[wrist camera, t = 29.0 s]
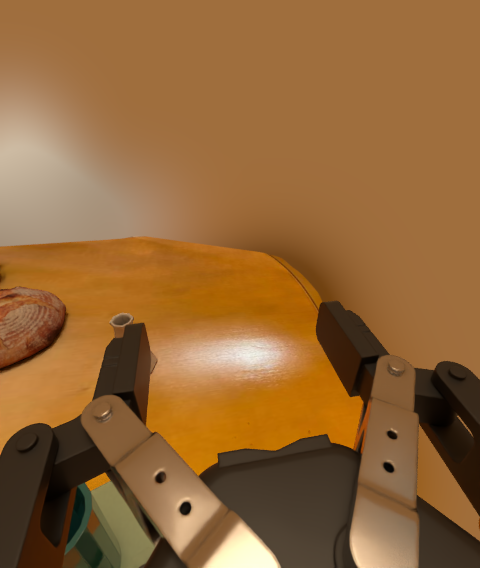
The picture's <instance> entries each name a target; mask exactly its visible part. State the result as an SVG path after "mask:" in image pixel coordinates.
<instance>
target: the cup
mask: <svg viewBox="0 0 480 568" xmlns="http://www.w3.org/2000/svg"><path fill="white" fill-rule="evenodd" d="M120 567H121V548H120V545H119V542H118V540H117V538H116V536H115V534H114V533H113V531H112V529H111V527H110V526H109V524H108V522H107V520H106V518H105V517H104V515H103V513H102V511H101V509H100V508H99V506H98V504H97V502H96V500H95V499H94V497H93V495H92V493H91V492H90V490H89V488H88V487H87V485H86V484H85V483H83V484H81V485H79V486H77V490H76V495H75V501H74V506H73V512H72V517H71V523H70V528H69V533H68V539H67V544H66V550H65V555H64V561H63V566H62V568H120Z"/></svg>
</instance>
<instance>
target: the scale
mask: <svg viewBox="0 0 480 568" xmlns="http://www.w3.org/2000/svg"><path fill="white" fill-rule="evenodd" d="M90 492H91V493H92V495H93V497H94V499H95V500H96V502H97V504H98V506H99V508H100V509H101V511H102V513H103V515H104V517H105V518H106V520H107V522H108V524H109V526H110V527H111V529H112V531H113V533H114V534H115V536H116V538H117V540H118V542H119V545H120V548H121V567H120V568H139V567H140V566H141V565H143V564H146V563H147V561H148V559H149V557H150V556H151V554H152V552H153V550H154V546H153V545H152V543H151V542H150V540H149V539H148V537H147V536H146V534H145V533H144V531H143V530H142V528H141V527H140V525H139V523H138V522H137V520H136V518H135V517H134V515H133V513H132V511H131V510H130V508H129V507H128V505H127V504H126V502H125V501H124V499H123V498H122V496H121V495H120V493H119V492H118V490H117V489H116V488H115V486H114V485H113V483H112V482H111V481H110V482H108V483H106V484H104V485H102V486H100V487H98V488H96V489H94V490H92V491H90Z"/></svg>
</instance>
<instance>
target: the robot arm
mask: <svg viewBox="0 0 480 568" xmlns="http://www.w3.org/2000/svg"><path fill="white" fill-rule="evenodd" d="M316 335H317V339H318V341H319V343H320V344H321V346H322V348H323V350H324V352H325V353H326V355H327V357H328V359H329V361H330V362H331V364H332V366H333V368H334V369H335V371H336V373H337V375H338V377H339V378H340V380H341V382H342V384H343V385H344V387H345V389H346V391H347V393H348V394H349V396H350V397H353V396H360V397H361V399H362V400H363V405H362V410H361V415H360V420H359V424H358V429H357V434H356V439H355V443H354V447H353V449H351V448H349V447H346V446H343V445H340V444H336V443H331V442H330V440H329V437H328V435H327V434H324V435H319V436H313V437H307V438H302V439H299V440H297V441H295V442H293V443H291V444H289V445H287V446H285V447H283V448H281V449H279V450H276V451H269V450H258V449H240V450H234V451H229V452H223V453H218V463H216V464H214V465H212V466H210V467H209V468H207V469H206V470H205V471H204V472H202V473H201V474H200V475H199V476H198V475H197V474H196V473H195V472H194V471H193V470H192V469H191V468H190V467H189V466H188V465H187V463H186V462H185V461H184V460H183V459H182V458H181V457H180V456H179V455H178V454H177V452H176V451H175V450H174V449H173V448H172V447H171V446H170V445H169V444H168V443H167V441H166V440H165V439H164V438H163V437H162V436H161V435H160V434H159V433H157V432H154V433H152V432H151V431H150V430H149V429H148V428H147V427H146V417H147V405H148V393H149V381H150V369H151V351H150V346H149V341H148V337H147V332H146V328H145V324H144V323H138V324H129V325H126V326H125V329H124V334H123V337H121V338H113V340H112V341H111V342H110V343H109V345H108V346H107V347H106V350H105V354H104V360H103V362H102V368H101V369H100V373H99V377H98V381H97V385H96V389H95V393H94V396H93V400H92V402H90V403H89V404H88V405H87V406H86V407H85V409H84V410H83V412H82V414H81V415H80V416H78V417H77V418H75V419H73V420H71V421H69V422H67V423H64V424H62V425H60V426H57V427H55V428H51V427H50V426H49V425H47V424H43V423H37V424H32V425H29V426H27V427H25V428H23V429H21V430H19V431H18V432H17V433H15V434H14V435H13V436H12V437H11V438H10V439H9V440H8V441H7V443H6V444H5V446H4V448H3V450H2V453H1V455H0V568H62V566H63V561H64V555H65V550H66V544H67V539H68V533H69V528H70V523H71V517H72V512H73V506H74V501H75V495H76V490H77V486H79V485H81V484H83V483H85V482H87V481H89V480H90V479H92V478H94V477H96V476H98V475H100V474H102V473H104V472H105V473H106V474H107V476H108V477H109V479H110V480H111V482H112V483H113V485H114V486H115V488H116V489H117V490H118V492H119V493H120V495H121V496H122V498H123V499H124V501H125V502H126V504H127V505H128V507H129V508H130V510H131V511H132V513H133V515H134V517H135V518H136V520H137V522H138V523H139V525H140V527H141V528H142V530H143V531H144V533H145V534H146V536H147V537H148V539H149V540H150V542H151V543H152V545H153V546H154V550H153V552H152V554H151V556H150V557H149V559H148V561H147V563H146V564H145V566H144V568H480V541H479V540H477V539H476V538H475V537H473V536H472V535H471V534H469V533H468V532H467V531H465V530H463V529H462V528H461V527H460V526H458V525H457V524H456V523H454V522H453V521H452V520H450V519H449V518H447V517H446V516H445V515H443V514H442V513H441V512H439V511H438V510H437V509H435V508H434V507H433V506H431V505H430V504H428V503H427V502H426V501H424V500H423V499H421V498H420V497H419V496H418V495H417V466H418V465H417V464H418V432H419V430H418V429H419V428H418V427H419V424H420V426H421V427H422V429H423V430H424V432H425V433H426V435H427V436H428V438H429V439H430V441H431V443H432V444H433V445H434V447H435V449H436V450H437V451H438V453H439V455H440V456H441V458H442V459H443V461H444V462H445V464H446V466H447V467H448V468H449V470H450V472H451V473H452V475H453V476H454V478H455V479H456V481H457V482H458V484H459V485H460V487H461V489H462V490H463V492H464V493H465V494H466V496H467V498H468V499H469V501H470V502H471V504H472V505H473V507H474V508H475V510H476V511H477V513H478V515H479V516H480V380H479V379H478V378H477V377H476V376H475V375H474V374H473V373H472V372H471V371H470V370H469V369H468V368H466V367H464V366H462V365H460V364H458V363H455V362H450V361H443V362H440V363H438V364H437V366H436V368H435V370H427V369H418V368H413V366H412V365H411V364H410V363H409V362H407V361H406V360H404V359H402V358H400V357H398V356H394V355H390V354H389V353H388V352H387V351H386V349H385V348H384V347H383V346H382V344H381V343H380V342H379V341H378V339H377V338H376V337H375V336H374V334H373V333H372V332H371V331H370V329H369V328H368V327H367V326H366V325H365V323H364V322H363V320H362V319H361V318H360V317H359V316H358V315H356V314H355V313H353V312H352V311H350V310H347V311H346V310H345V309H344V308H343V306H342V305H341V304H340V302H338V301H330V302H322V303H321V304H320V307H319V313H318V319H317V324H316ZM457 415H458V416H459V417H460V418H461V419H462V421H463V422H464V423H465V424H466V425H467V427H468V428H469V429H470V431H471V433H472V435H473V436H472V435H471V434H470V433H469V431H468V430H467V429H466V428H465V426H464V425H463V424H462V422H461V421H460V420H459V419H458V417H457ZM473 437H474V438H473ZM479 529H480V519H479Z"/></svg>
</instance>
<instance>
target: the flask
mask: <svg viewBox="0 0 480 568" xmlns="http://www.w3.org/2000/svg"><path fill="white" fill-rule="evenodd" d="M133 320H134V317H133V316H131V315H130V314H128V313H120V314H118V315H116V316H114V317H113V318H112V319H111V321H110V324H111V325H112V326H113V328H114V332H115V338H121V337H123V334H124V329H125V326H126V325H129V324H133ZM156 361H157V358H156V357H155V356H154V354H153V353H152V352H151V369H150V373H151V372H152V370H153V368H154V366H155V364H156Z"/></svg>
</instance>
